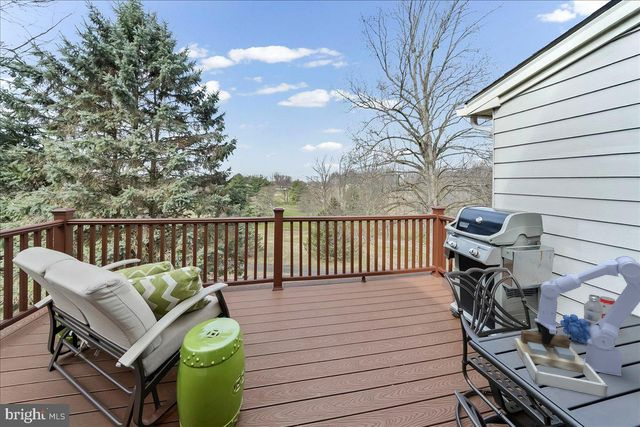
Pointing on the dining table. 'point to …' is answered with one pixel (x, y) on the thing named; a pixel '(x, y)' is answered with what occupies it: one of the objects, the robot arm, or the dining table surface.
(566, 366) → the birch plate
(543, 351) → the far tile
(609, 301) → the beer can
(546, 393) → the dining table surface
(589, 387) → the box
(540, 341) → the scraper bar
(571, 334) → the grapes
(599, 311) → the plastic bottle
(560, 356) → the near tile
